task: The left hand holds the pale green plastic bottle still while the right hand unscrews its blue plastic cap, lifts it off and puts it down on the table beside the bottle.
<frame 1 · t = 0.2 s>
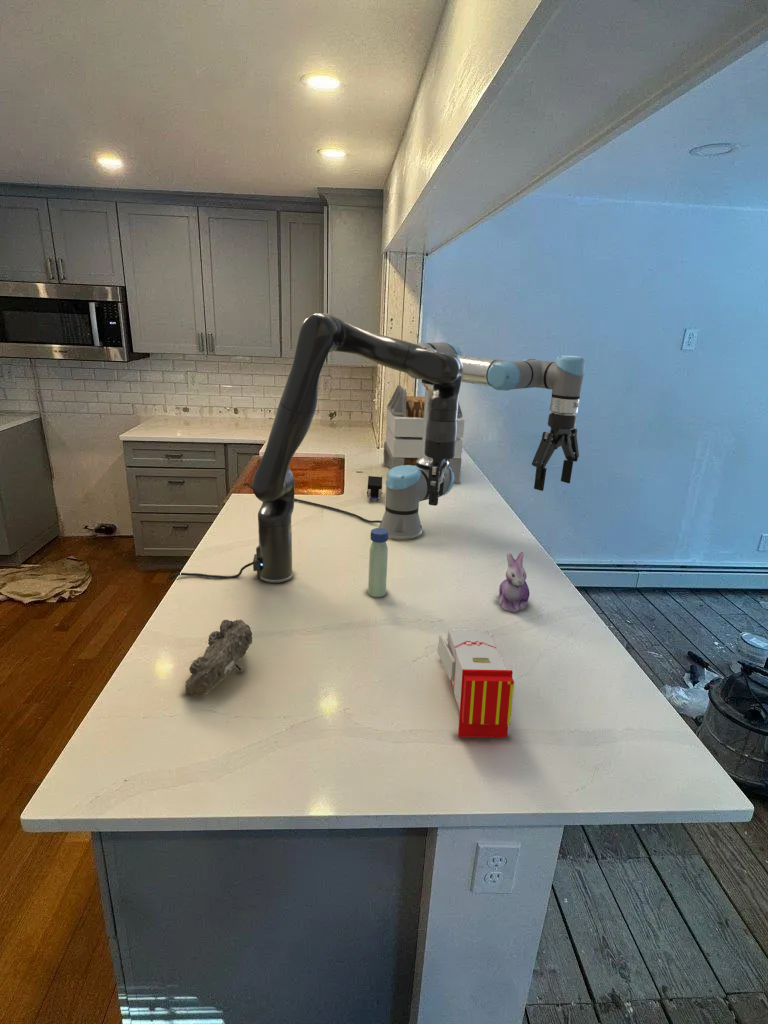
left hand: (435, 499, 145), 29 cm above the counter, tool pointing down, fingers open, 8 cm apart
right hand: (552, 485, 166), 28 cm above the counter, tool pointing down, fingers open, 13 cm apart
toy: (469, 691, 119), on the counter
figurine character: (374, 497, 237), on the counter
white crate: (419, 473, 275), on the counter
fossil: (224, 669, 122), on the counter
cap: (379, 532, 152), point 18 cm above the counter, screwed on, not yet turned
figurine: (513, 604, 155), on the counter
bottle: (376, 592, 158), on the counter
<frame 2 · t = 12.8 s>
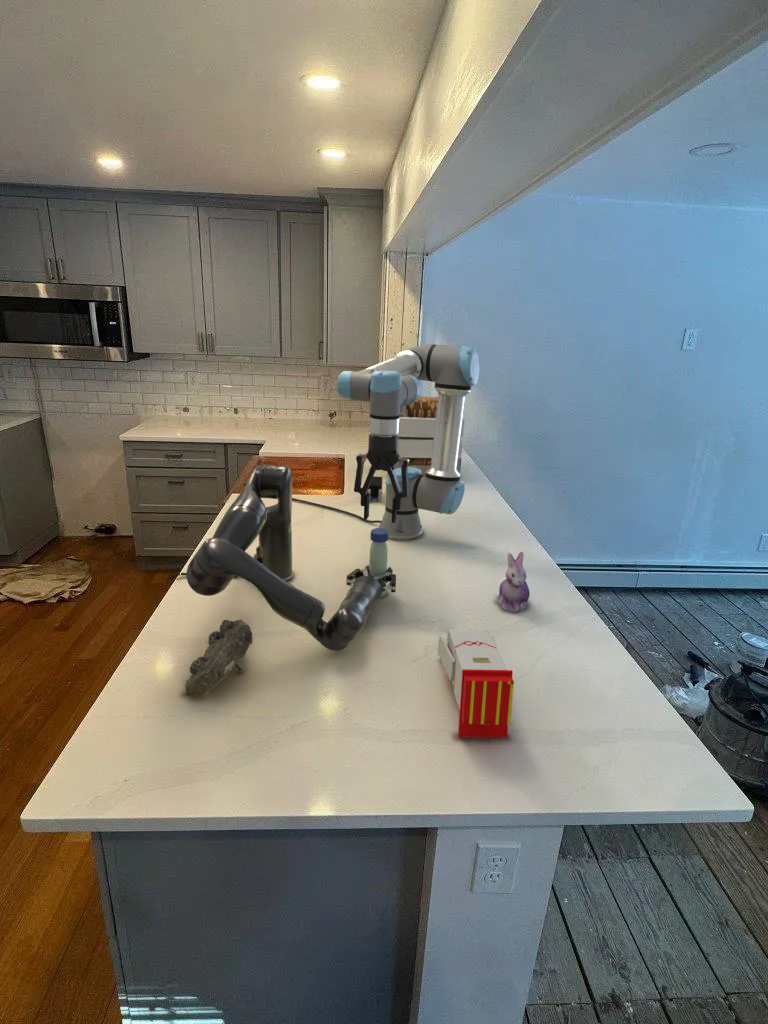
left hand: (380, 568, 158), 6 cm above the counter, tool horizontal, fingers closed on bottle, 5 cm apart
right hand: (380, 519, 151), 22 cm above the counter, tool pointing down, fingers open, 7 cm apart
bottle: (376, 592, 158), on the counter, touching left hand
everything else where it was.
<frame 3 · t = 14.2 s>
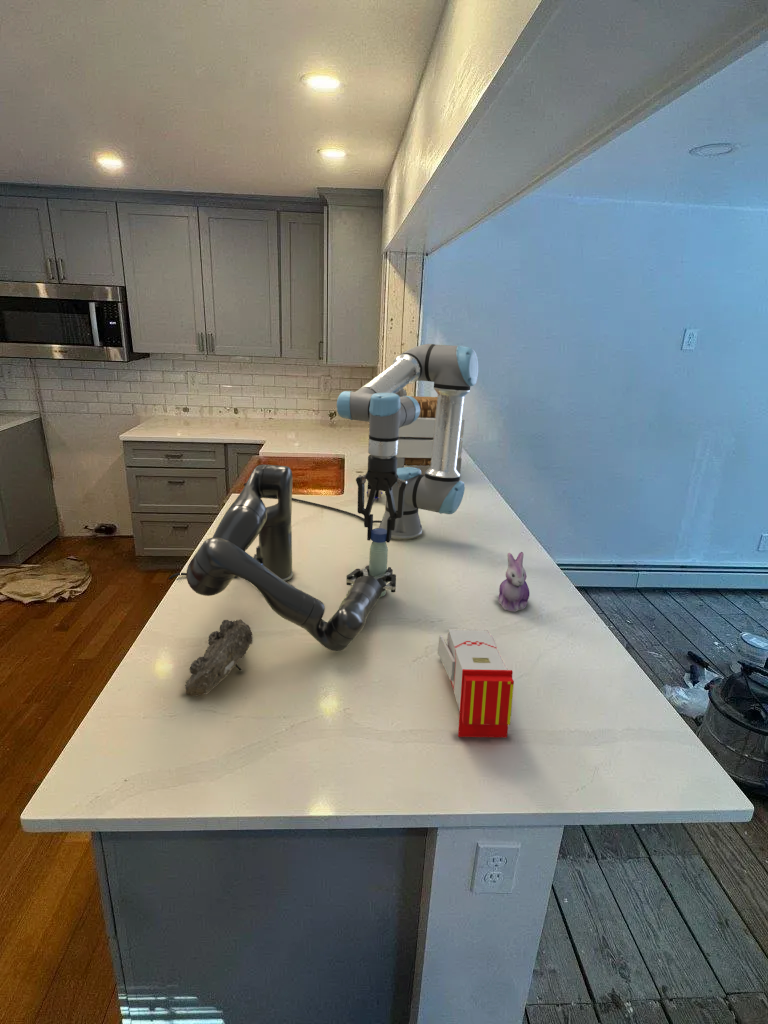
left hand: (380, 568, 158), 6 cm above the counter, tool horizontal, fingers closed on bottle, 5 cm apart
right hand: (379, 539, 153), 16 cm above the counter, tool pointing down, fingers closed on cap, 4 cm apart
cap: (379, 532, 152), point 18 cm above the counter, screwed on, not yet turned, touching right hand
bottle: (376, 592, 158), on the counter, touching left hand
everything else where it was.
when the right hand's fingers open (1 cm above the counter, at t = 31.1 s): cap drops 1 cm, point 2 cm above the counter.
when the left hand's fingers open (6 cm above the counter, at t = 32.4 s): bottle stays where it is, on the counter.
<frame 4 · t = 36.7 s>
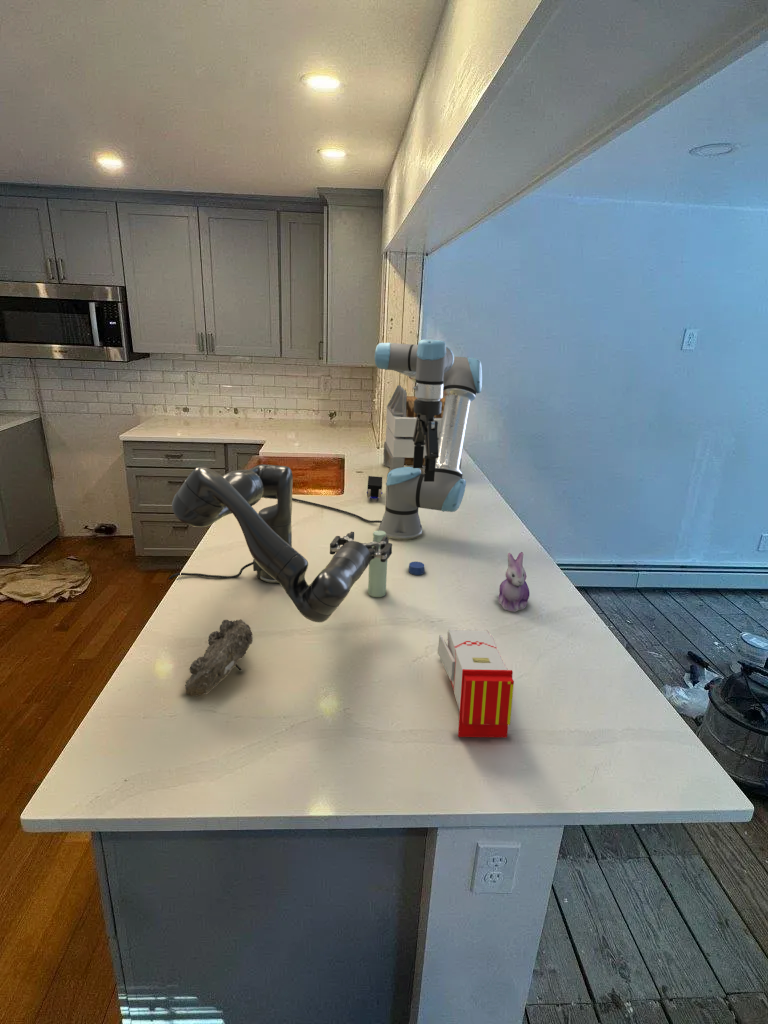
left hand: (369, 537, 142), 21 cm above the counter, tool horizontal, fingers open, 8 cm apart
right hand: (423, 474, 161), 31 cm above the counter, tool pointing down, fingers open, 13 cm apart
cap: (416, 565, 171), point 2 cm above the counter, off its thread
bottle: (376, 592, 158), on the counter
everything else where it was.
at the end: cap came off its thread; cap point 2.1 cm above the counter; the left hand is holding nothing; the right hand is holding nothing; bottle tilted 0°; bottle moved 0.1 cm from its start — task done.
